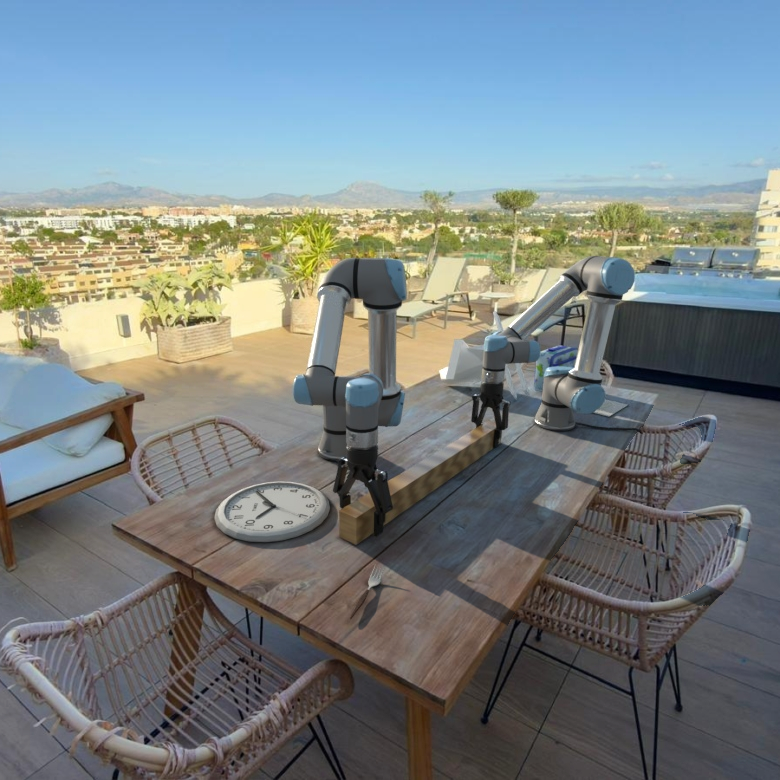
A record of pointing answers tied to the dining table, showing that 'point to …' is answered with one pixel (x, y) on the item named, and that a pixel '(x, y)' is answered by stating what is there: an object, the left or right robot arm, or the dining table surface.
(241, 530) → the wall clock
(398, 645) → the dining table surface
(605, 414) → the invitation card
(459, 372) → the white plastic object
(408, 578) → the dining table surface
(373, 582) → the fork
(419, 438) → the dining table surface
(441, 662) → the dining table surface
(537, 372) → the lunch box
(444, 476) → the bar
